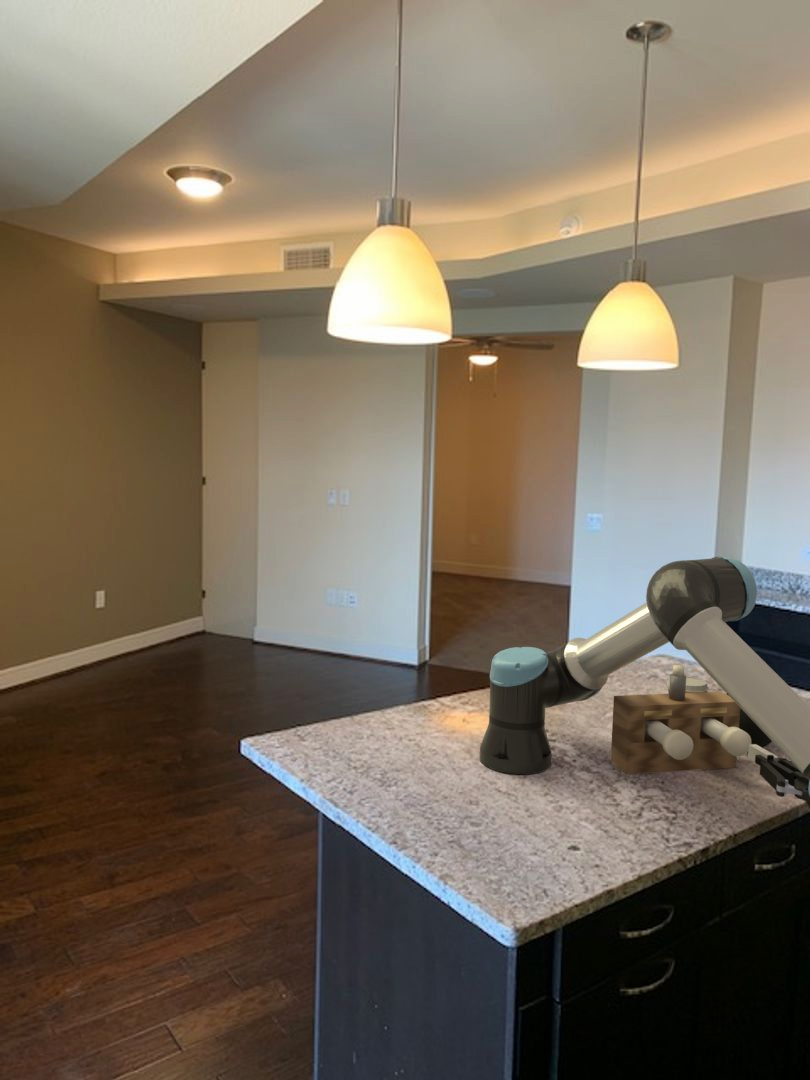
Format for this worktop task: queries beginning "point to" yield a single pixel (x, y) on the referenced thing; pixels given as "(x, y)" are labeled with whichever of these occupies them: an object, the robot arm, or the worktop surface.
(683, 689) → the grey bottle
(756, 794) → the worktop surface
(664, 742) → the knob
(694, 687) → the disposable coffee cup
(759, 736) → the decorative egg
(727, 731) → the knob
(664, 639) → the robot arm
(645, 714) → the mount
